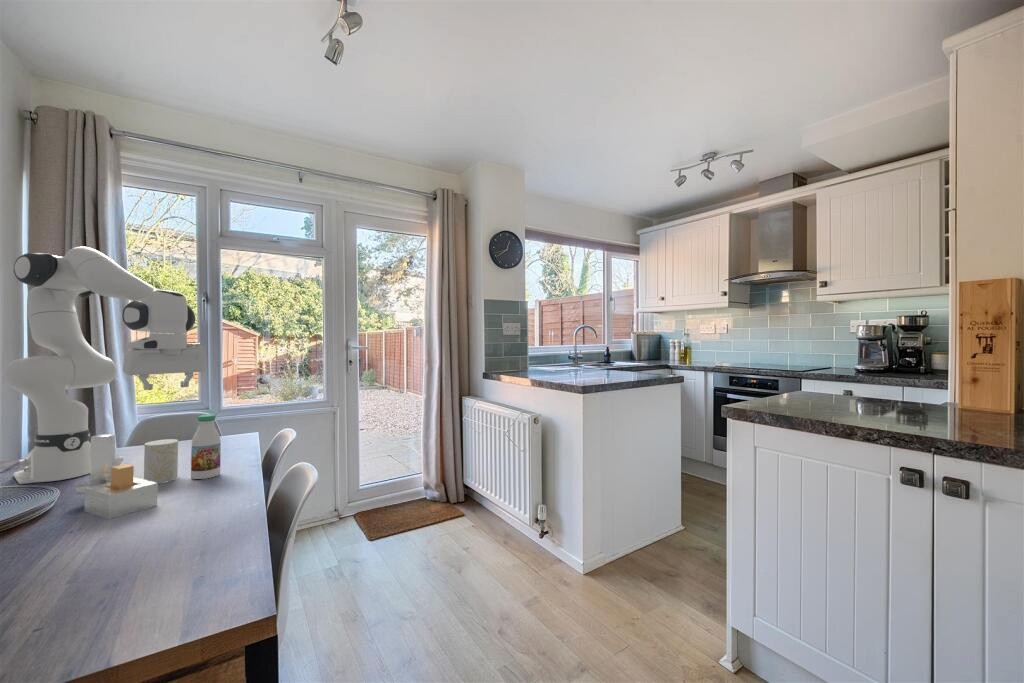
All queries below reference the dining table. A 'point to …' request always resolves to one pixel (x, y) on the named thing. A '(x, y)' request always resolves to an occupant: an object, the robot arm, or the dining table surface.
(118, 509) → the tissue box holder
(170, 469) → the cup
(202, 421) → the milk bottle
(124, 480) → the tan wooden block
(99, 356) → the robot arm
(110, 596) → the dining table surface
